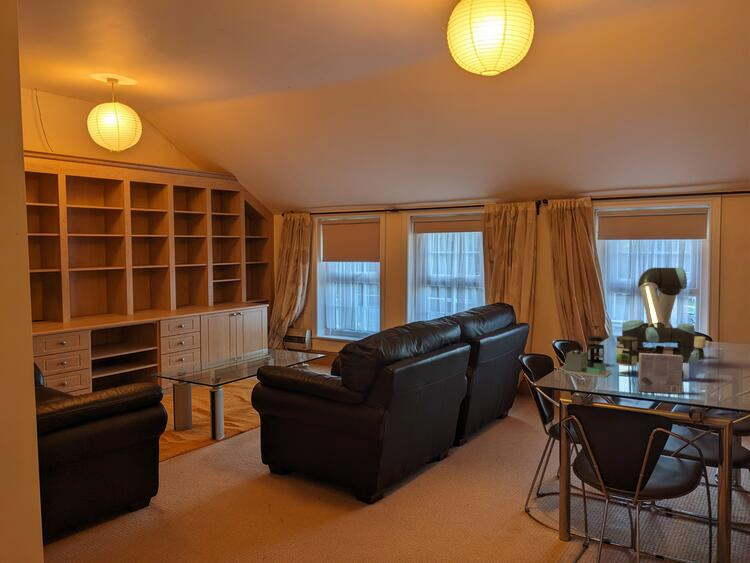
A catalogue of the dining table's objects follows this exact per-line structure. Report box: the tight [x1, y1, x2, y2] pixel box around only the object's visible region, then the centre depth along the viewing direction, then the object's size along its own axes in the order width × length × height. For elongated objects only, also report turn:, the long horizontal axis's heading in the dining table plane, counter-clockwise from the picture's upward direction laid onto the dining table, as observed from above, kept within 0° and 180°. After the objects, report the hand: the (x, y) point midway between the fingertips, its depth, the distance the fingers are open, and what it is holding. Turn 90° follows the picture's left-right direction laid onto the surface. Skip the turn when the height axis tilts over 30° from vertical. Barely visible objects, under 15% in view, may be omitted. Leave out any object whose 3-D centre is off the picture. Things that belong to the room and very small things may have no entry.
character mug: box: [694, 335, 710, 359], centre depth 355 cm, size 11×7×13 cm, turn 50°
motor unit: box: [563, 349, 612, 378], centre depth 315 cm, size 14×21×11 cm
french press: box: [586, 325, 605, 368], centre depth 332 cm, size 12×9×23 cm
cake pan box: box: [637, 353, 685, 395], centre depth 272 cm, size 19×5×18 cm, turn 77°
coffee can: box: [615, 335, 638, 367], centre depth 312 cm, size 10×10×14 cm
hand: (618, 349), depth 314 cm, fingers closed on coffee can, 10 cm apart
